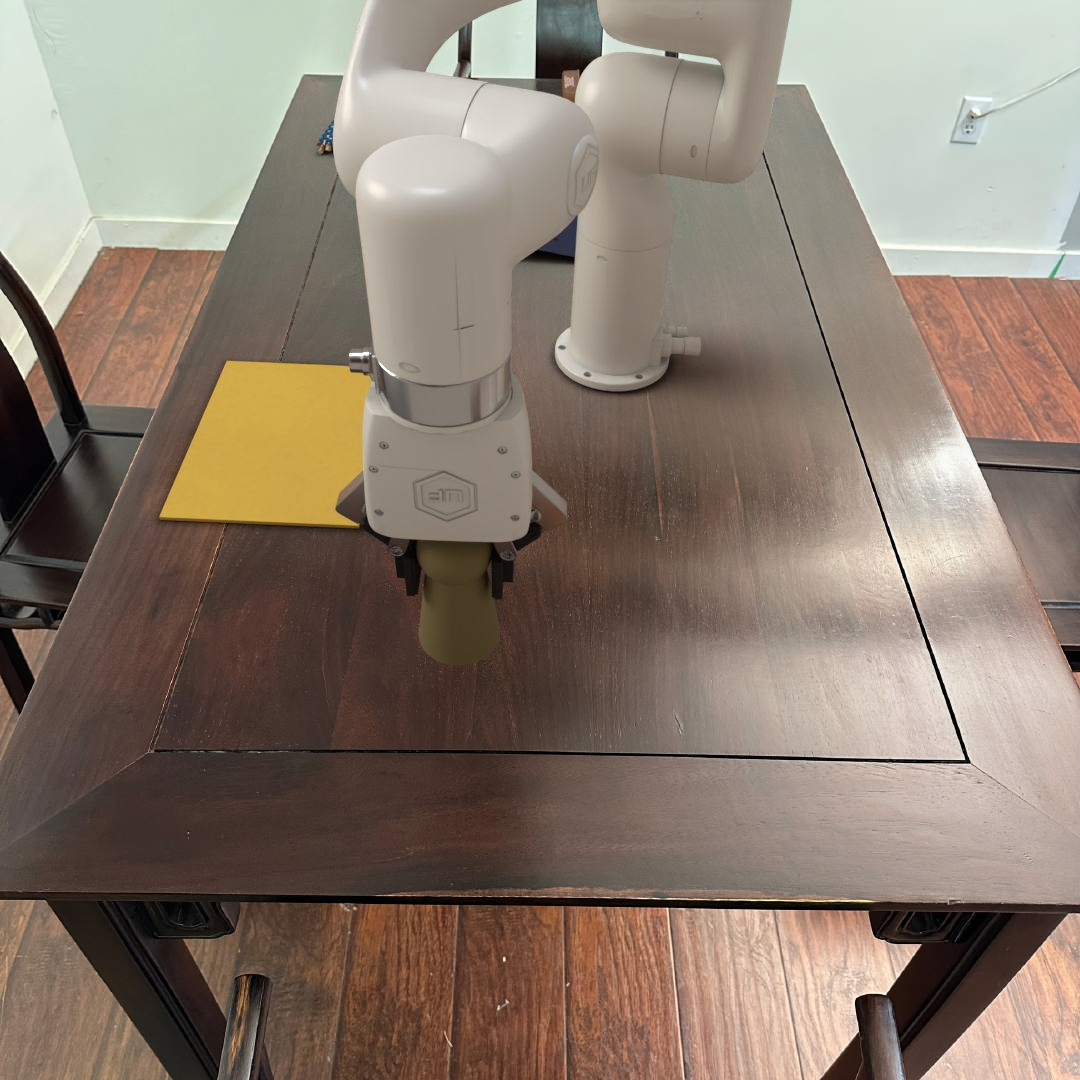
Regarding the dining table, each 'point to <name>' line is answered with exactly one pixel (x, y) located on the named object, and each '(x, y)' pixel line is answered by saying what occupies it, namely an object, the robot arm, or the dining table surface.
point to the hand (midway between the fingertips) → (456, 580)
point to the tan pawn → (457, 601)
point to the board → (273, 447)
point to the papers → (563, 241)
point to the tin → (570, 84)
